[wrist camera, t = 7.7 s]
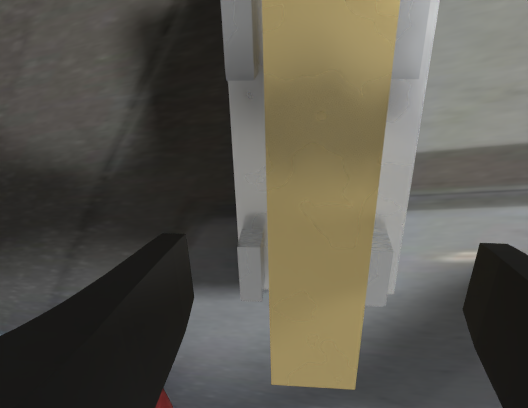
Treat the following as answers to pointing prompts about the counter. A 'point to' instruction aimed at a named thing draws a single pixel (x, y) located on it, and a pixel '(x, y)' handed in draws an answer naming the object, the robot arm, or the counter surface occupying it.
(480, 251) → the robot arm
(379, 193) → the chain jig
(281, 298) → the brass plaque on stand
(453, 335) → the counter surface
